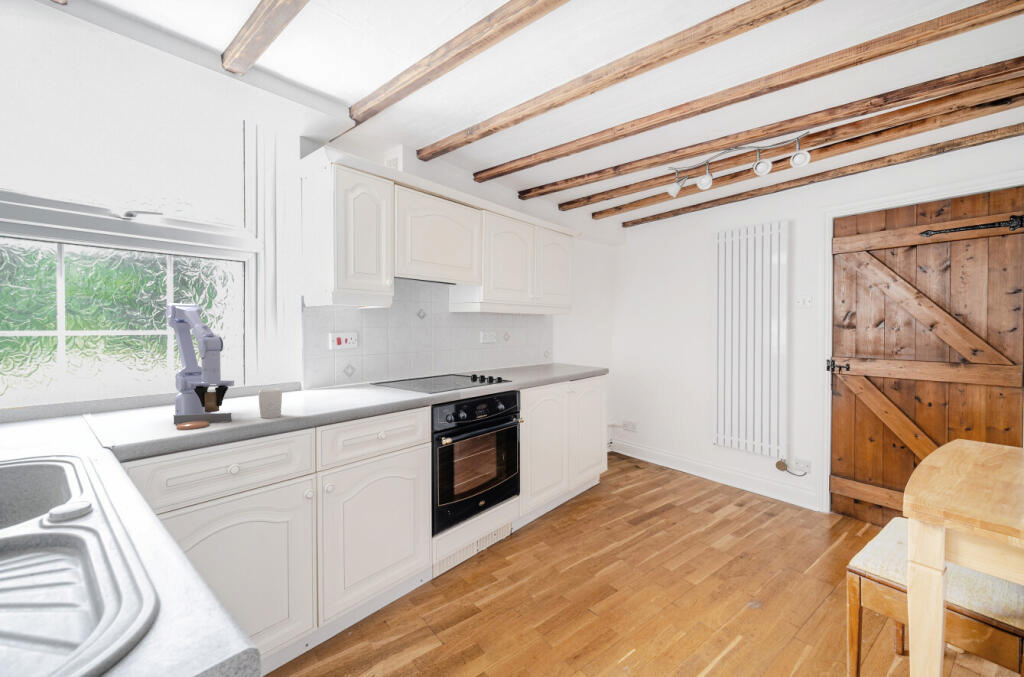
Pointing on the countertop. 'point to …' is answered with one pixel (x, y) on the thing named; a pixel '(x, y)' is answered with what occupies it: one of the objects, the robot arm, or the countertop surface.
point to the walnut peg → (211, 402)
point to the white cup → (270, 403)
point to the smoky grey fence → (203, 418)
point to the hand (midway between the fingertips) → (211, 406)
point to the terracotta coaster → (192, 425)
